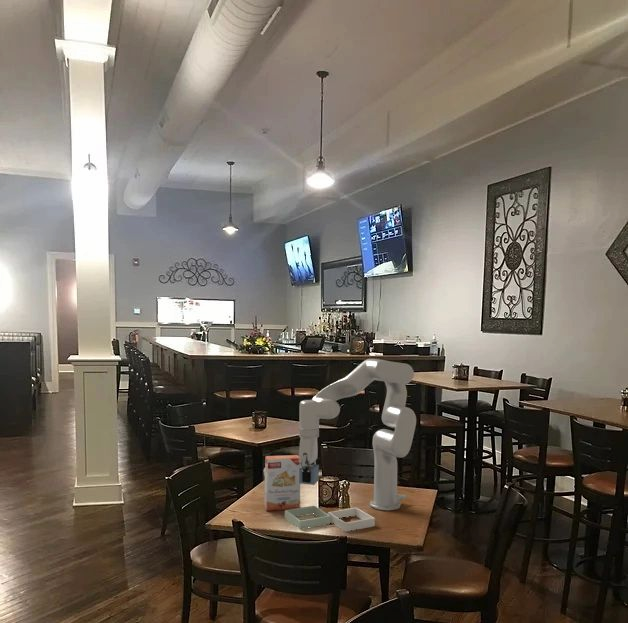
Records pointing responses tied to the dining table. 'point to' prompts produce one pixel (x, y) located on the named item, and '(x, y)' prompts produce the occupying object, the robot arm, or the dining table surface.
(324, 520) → the sage square tray
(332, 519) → the white square tray
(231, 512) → the dining table surface
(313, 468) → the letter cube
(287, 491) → the cracker box
